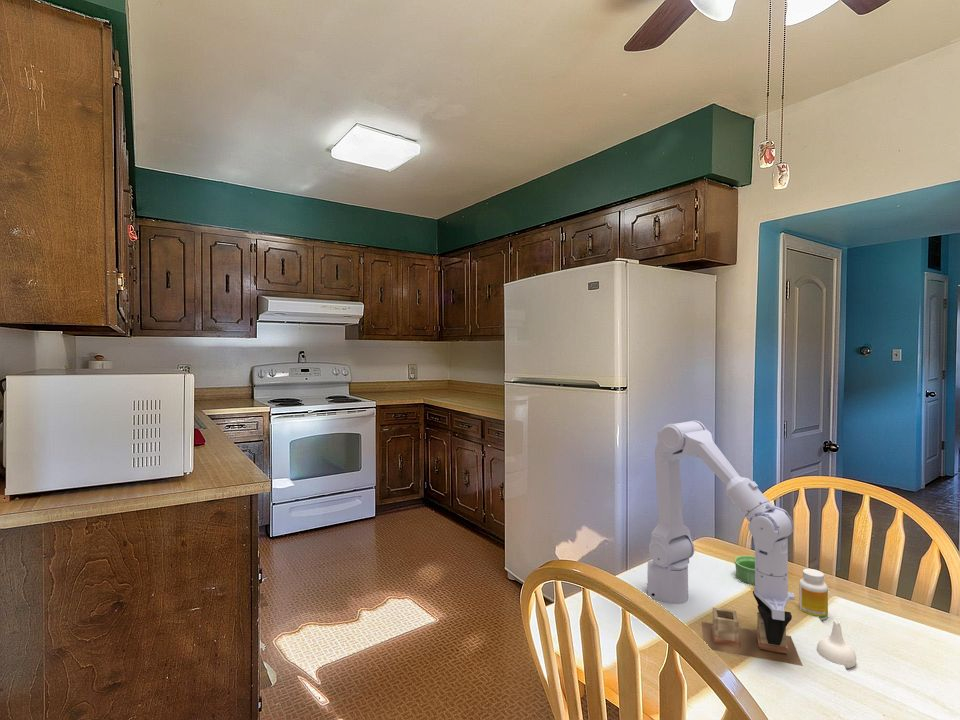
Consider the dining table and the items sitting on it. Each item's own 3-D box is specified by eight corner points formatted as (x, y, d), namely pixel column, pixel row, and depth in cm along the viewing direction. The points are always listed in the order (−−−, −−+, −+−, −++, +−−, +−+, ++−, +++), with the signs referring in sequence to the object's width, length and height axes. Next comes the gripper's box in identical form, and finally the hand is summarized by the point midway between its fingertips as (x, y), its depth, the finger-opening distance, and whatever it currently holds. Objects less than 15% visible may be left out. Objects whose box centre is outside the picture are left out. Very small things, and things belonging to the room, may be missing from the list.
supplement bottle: (832, 621, 111) (832, 578, 110) (805, 619, 112) (805, 577, 111) (821, 609, 116) (821, 567, 116) (795, 607, 117) (795, 566, 117)
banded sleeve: (788, 653, 98) (787, 628, 98) (759, 648, 100) (758, 624, 99) (783, 639, 102) (783, 615, 102) (755, 634, 104) (755, 611, 104)
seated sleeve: (713, 642, 103) (712, 618, 102) (711, 629, 107) (711, 606, 107) (740, 647, 101) (740, 623, 101) (737, 633, 105) (737, 610, 105)
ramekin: (737, 568, 138) (737, 552, 138) (775, 576, 132) (775, 560, 132) (731, 581, 130) (731, 564, 130) (771, 590, 125) (771, 573, 125)
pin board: (704, 653, 101) (704, 633, 101) (701, 626, 110) (701, 608, 110) (802, 670, 95) (802, 650, 95) (790, 640, 104) (790, 621, 104)
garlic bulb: (810, 658, 99) (808, 620, 99) (827, 645, 102) (825, 608, 102) (846, 677, 94) (844, 636, 93) (863, 662, 97) (861, 623, 96)
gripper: (803, 590, 92) (803, 662, 93) (786, 557, 106) (786, 620, 106) (759, 584, 95) (760, 654, 95) (748, 553, 108) (749, 615, 109)
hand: (771, 636), depth 101 cm, fingers closed on banded sleeve, 4 cm apart
